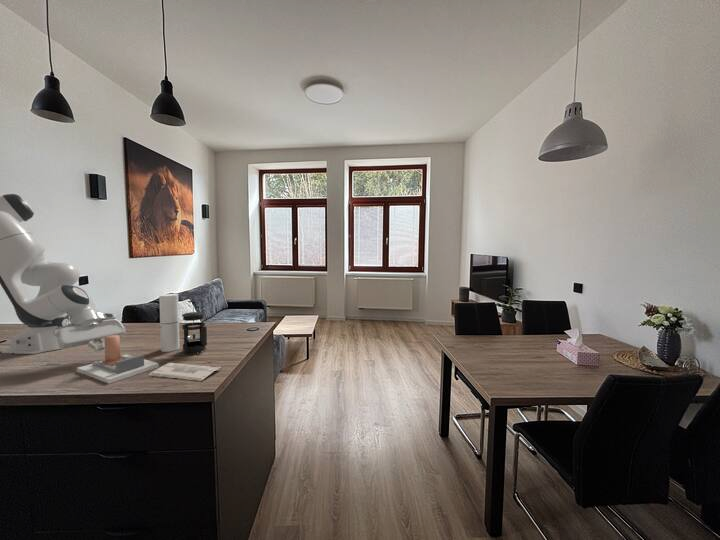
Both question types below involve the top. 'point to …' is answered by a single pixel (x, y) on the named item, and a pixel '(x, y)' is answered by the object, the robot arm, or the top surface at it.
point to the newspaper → (184, 371)
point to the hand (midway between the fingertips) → (100, 349)
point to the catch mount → (118, 368)
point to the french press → (194, 345)
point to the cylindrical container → (169, 322)
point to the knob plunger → (112, 350)
